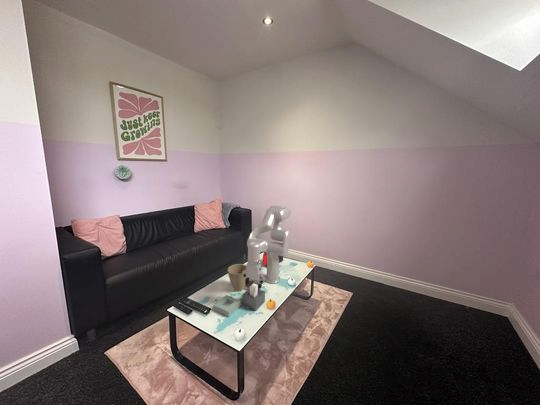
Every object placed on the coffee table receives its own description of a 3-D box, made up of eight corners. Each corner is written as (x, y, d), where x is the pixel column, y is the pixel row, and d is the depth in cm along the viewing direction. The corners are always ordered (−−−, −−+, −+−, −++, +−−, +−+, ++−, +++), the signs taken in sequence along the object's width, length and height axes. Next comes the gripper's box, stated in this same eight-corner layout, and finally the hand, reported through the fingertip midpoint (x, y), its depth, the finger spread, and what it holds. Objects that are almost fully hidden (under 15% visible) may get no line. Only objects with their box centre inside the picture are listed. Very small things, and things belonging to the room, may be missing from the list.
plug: (253, 292, 139) (253, 283, 137) (257, 294, 137) (257, 284, 136) (249, 296, 135) (249, 286, 134) (254, 297, 133) (254, 288, 132)
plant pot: (242, 280, 163) (242, 262, 160) (252, 290, 151) (252, 270, 149) (224, 287, 155) (224, 267, 152) (233, 297, 143) (233, 276, 140)
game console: (280, 257, 206) (280, 243, 203) (285, 259, 202) (286, 245, 199) (261, 267, 185) (261, 252, 182) (266, 270, 181) (267, 254, 178)
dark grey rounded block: (251, 296, 144) (251, 286, 143) (264, 301, 139) (265, 291, 138) (242, 305, 135) (241, 295, 134) (256, 311, 130) (256, 300, 128)
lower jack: (226, 299, 140) (226, 294, 140) (240, 305, 135) (240, 300, 134) (214, 310, 130) (213, 305, 130) (228, 317, 124) (228, 311, 124)
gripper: (268, 262, 131) (267, 287, 133) (246, 256, 139) (245, 280, 142) (262, 267, 124) (261, 293, 127) (239, 260, 132) (239, 285, 135)
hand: (253, 286), depth 134 cm, fingers open, 9 cm apart
